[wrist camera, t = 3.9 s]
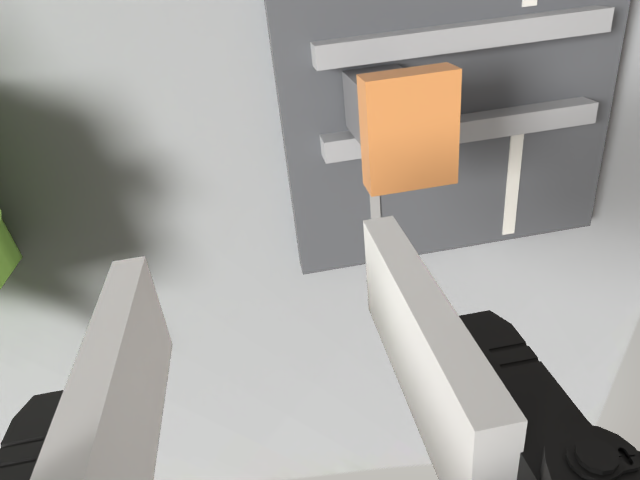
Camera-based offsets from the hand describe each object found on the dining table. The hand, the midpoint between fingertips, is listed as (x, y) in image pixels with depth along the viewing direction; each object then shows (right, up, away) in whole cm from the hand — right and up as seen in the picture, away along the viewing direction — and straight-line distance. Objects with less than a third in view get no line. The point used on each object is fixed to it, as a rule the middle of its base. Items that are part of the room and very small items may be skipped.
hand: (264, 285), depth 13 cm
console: (+9, +11, +17) cm, 22 cm away
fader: (+4, +9, +15) cm, 18 cm away
